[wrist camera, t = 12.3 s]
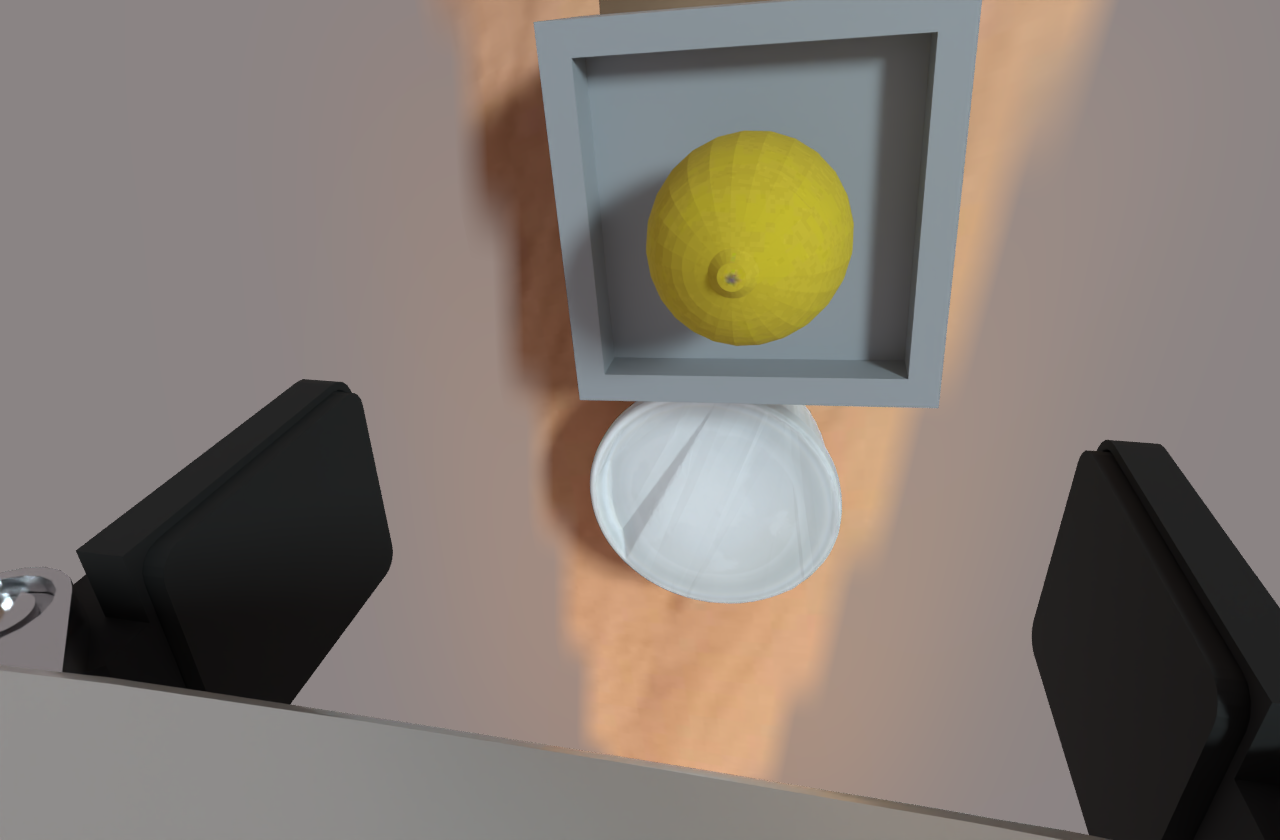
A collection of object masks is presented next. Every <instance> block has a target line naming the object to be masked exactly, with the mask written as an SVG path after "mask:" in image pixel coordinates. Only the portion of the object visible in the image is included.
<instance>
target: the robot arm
mask: <svg viewBox="0 0 1280 840" xmlns="http://www.w3.org/2000/svg"><path fill="white" fill-rule="evenodd" d="M76 552H77V554H78V557H79V559H80V561H81V563H82V566H83V568H84V570H85V572H86V575H85V576H84V577H82V578H81V579H80V580H79V581H78V582H76V583H75V584H74V585H73V583H72V581H71V578H70V577H69V576H68V575H66V574H65V573H64V572H62V571H61V570H57V569H53V568H48V567H32V568H31V567H30V568H21V569H16V570H11V571H5V572H1V573H0V840H1280V608H1279V606H1278V605H1277V604H1276V602H1275V601H1274V600H1273V598H1272V597H1271V595H1270V594H1269V593H1268V591H1267V590H1266V588H1265V587H1264V586H1263V584H1262V583H1261V581H1260V580H1259V579H1258V577H1257V576H1256V575H1255V573H1254V572H1253V571H1252V569H1251V568H1250V566H1249V565H1248V564H1247V562H1246V561H1245V559H1244V558H1243V557H1242V555H1241V554H1240V552H1239V551H1238V550H1237V548H1236V547H1235V545H1234V544H1233V543H1232V541H1231V540H1230V539H1229V537H1228V536H1227V534H1226V533H1225V532H1224V530H1223V529H1222V527H1221V526H1220V524H1219V523H1218V522H1217V520H1216V519H1215V518H1214V516H1213V515H1212V513H1211V512H1210V511H1209V509H1208V508H1207V506H1206V505H1205V504H1204V502H1203V501H1202V499H1201V498H1200V497H1199V495H1198V494H1197V492H1196V491H1195V490H1194V488H1193V487H1192V486H1191V484H1190V483H1189V481H1188V480H1187V479H1186V477H1185V476H1184V474H1183V473H1182V471H1181V470H1180V469H1179V467H1178V466H1177V464H1176V463H1175V462H1174V460H1173V459H1172V458H1171V456H1170V455H1169V453H1168V452H1167V451H1166V449H1165V448H1164V447H1163V446H1162V445H1161V444H1153V443H1140V442H1127V441H1113V440H1105V441H1104V442H1102V443H1101V445H1100V446H1099V447H1098V449H1097V451H1085V452H1083V453H1082V455H1081V456H1080V459H1079V461H1078V464H1077V468H1076V471H1075V475H1074V479H1073V482H1072V486H1071V490H1070V493H1069V497H1068V500H1067V504H1066V507H1065V511H1064V514H1063V518H1062V521H1061V525H1060V529H1059V532H1058V536H1057V539H1056V543H1055V546H1054V550H1053V554H1052V557H1051V561H1050V564H1049V568H1048V572H1047V575H1046V579H1045V582H1044V586H1043V590H1042V593H1041V596H1040V600H1039V604H1038V607H1037V611H1036V614H1035V618H1034V622H1033V627H1032V646H1033V652H1034V656H1035V659H1036V662H1037V666H1038V669H1039V672H1040V676H1041V679H1042V682H1043V685H1044V689H1045V692H1046V695H1047V698H1048V702H1049V705H1050V708H1051V711H1052V715H1053V718H1054V721H1055V725H1056V728H1057V731H1058V734H1059V738H1060V741H1061V744H1062V748H1063V751H1064V754H1065V758H1066V761H1067V764H1068V767H1069V771H1070V774H1071V777H1072V781H1073V784H1074V787H1075V790H1076V793H1077V797H1078V800H1079V804H1080V807H1081V810H1082V813H1083V817H1084V820H1085V823H1086V826H1087V830H1088V833H1089V835H1085V834H1080V833H1075V832H1070V831H1065V830H1059V829H1053V828H1047V827H1041V826H1035V825H1029V824H1023V823H1017V822H1010V821H1004V820H998V819H993V818H987V817H981V816H976V815H971V814H965V813H959V812H954V811H948V810H943V809H937V808H930V807H925V806H919V805H913V804H907V803H901V802H894V801H888V800H883V799H877V798H870V797H864V796H858V795H852V794H846V793H840V792H834V791H828V790H822V789H816V788H809V787H804V786H797V785H792V784H786V783H780V782H774V781H768V780H762V779H755V778H749V777H743V776H737V775H731V774H725V773H719V772H713V771H707V770H701V769H695V768H689V767H683V766H677V765H670V764H664V763H658V762H652V761H645V760H639V759H633V758H627V757H620V756H614V755H608V754H602V753H596V752H589V751H583V750H577V749H570V748H564V747H557V746H551V745H546V744H539V743H533V742H527V741H520V740H514V739H508V738H502V737H495V736H489V735H483V734H476V733H470V732H464V731H457V730H451V729H445V728H438V727H431V726H426V725H419V724H412V723H407V722H400V721H393V720H387V719H380V718H374V717H368V716H361V715H355V714H348V713H342V712H335V711H328V710H322V709H315V708H309V707H302V706H296V705H290V704H291V702H292V701H293V700H294V698H295V697H296V695H297V694H298V693H299V692H300V690H301V689H302V688H303V686H304V685H305V683H306V682H307V681H308V679H309V678H310V677H311V675H312V674H313V673H314V671H315V670H316V669H317V667H318V666H319V665H320V663H321V662H322V660H323V659H324V658H325V656H326V655H327V654H328V652H329V651H330V650H331V648H332V647H333V646H334V644H335V643H336V642H337V640H338V639H339V638H340V636H341V635H342V633H343V632H344V631H345V629H346V628H347V627H348V625H349V624H350V623H351V621H352V620H353V618H354V617H355V616H356V615H357V613H358V612H359V610H360V609H361V608H362V606H363V605H364V604H365V602H366V601H367V599H368V598H369V597H370V596H371V594H372V593H373V592H374V590H375V589H376V588H377V586H378V585H379V583H380V582H381V581H382V579H383V578H384V577H385V575H386V574H387V572H388V570H389V568H390V565H391V562H392V555H393V550H392V543H391V538H390V533H389V528H388V524H387V519H386V514H385V509H384V505H383V500H382V495H381V490H380V485H379V481H378V476H377V472H376V467H375V462H374V457H373V452H372V447H371V443H370V438H369V433H368V428H367V423H366V419H365V414H364V409H363V405H362V402H361V399H360V398H359V397H358V395H357V394H355V393H352V392H351V390H350V389H349V387H348V386H347V385H346V384H344V383H343V382H333V381H320V380H305V379H302V380H300V381H298V382H297V383H295V384H294V385H293V386H291V387H290V388H289V389H287V390H286V391H285V392H283V393H282V394H281V395H279V396H278V397H277V398H276V399H274V400H273V401H272V402H270V403H269V404H268V405H266V406H265V407H264V408H262V409H261V410H260V411H258V412H257V413H256V414H255V415H253V416H252V417H251V418H249V419H248V420H247V421H245V422H244V423H243V424H241V425H240V426H239V427H238V428H236V429H235V430H234V431H232V432H231V433H230V434H229V435H227V436H226V437H224V438H223V439H222V440H221V441H219V442H218V443H216V444H215V445H214V446H213V447H211V448H210V449H209V450H208V451H206V452H205V453H204V454H202V455H201V456H200V457H198V458H197V459H196V460H194V461H193V462H192V463H190V464H189V465H188V466H186V467H185V468H184V469H182V470H181V471H180V472H178V473H177V474H176V475H175V476H173V477H172V478H171V479H169V480H168V481H167V482H165V483H164V484H163V485H162V486H160V487H159V488H157V489H156V490H155V491H154V492H152V493H151V494H150V495H148V496H147V497H146V498H145V499H143V500H142V501H140V502H139V503H138V504H136V505H135V506H134V507H133V508H131V509H130V510H129V511H127V512H126V513H125V514H123V515H122V516H121V517H119V518H118V519H117V520H115V521H114V522H113V523H112V524H110V525H109V526H108V527H107V528H105V529H104V530H102V531H101V532H100V533H98V534H97V535H96V536H95V537H93V538H92V539H91V540H89V541H88V542H87V543H85V544H84V545H83V546H81V547H80V548H79V549H77V550H76Z"/></svg>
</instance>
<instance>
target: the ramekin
mask: <svg viewBox="0 0 1280 840" xmlns="http://www.w3.org/2000/svg"><path fill="white" fill-rule="evenodd" d="M590 494H591V500H592V506H593V510H594V513H595V517H596V519H597V522H598V524H599V526H600V529H601V531H602V533H603V535H604V536H605V538H606V539H607V541H608V543H609V544H610V545H611V547H612V548H613V549H614V550H615V552H616V553H617V554H618V555H619V556H620V557H621V558H622V559H623V560H624V561H625V562H626V563H627V564H628V565H629V566H630V567H631V568H632V569H634V570H635V571H636V572H637V573H639V574H640V575H641V576H643V577H644V578H646V579H647V580H648V581H651V582H652V583H654V584H656V585H657V586H659V587H661V588H663V589H666V590H668V591H670V592H673V593H675V594H678V595H681V596H684V597H688V598H691V599H695V600H701V601H706V602H715V603H745V602H754V601H758V600H762V599H766V598H770V597H773V596H776V595H779V594H781V593H784V592H786V591H788V590H791V589H793V588H794V587H796V586H797V585H798V584H800V583H801V582H803V581H804V580H806V579H807V578H808V577H809V576H811V575H812V574H813V573H814V572H815V571H816V570H817V569H818V567H819V566H820V565H821V564H822V563H823V562H824V561H825V559H826V558H827V556H828V555H829V553H830V552H831V550H832V548H833V546H834V543H835V541H836V538H837V536H838V532H839V528H840V522H841V514H842V499H841V488H840V483H839V478H838V475H837V471H836V468H835V465H834V463H833V461H832V459H831V457H830V455H829V453H828V451H827V449H826V448H825V445H824V441H823V438H822V435H821V432H820V431H819V429H818V426H817V423H816V421H815V420H814V418H813V417H812V415H811V413H810V411H809V410H808V409H807V408H806V406H805V405H781V404H737V403H693V402H649V401H637V402H635V403H634V404H632V405H631V406H630V407H628V408H627V409H626V410H625V411H624V412H623V413H622V414H621V415H619V417H618V418H617V419H616V420H615V421H614V422H613V423H612V425H611V426H610V427H609V429H608V430H607V432H606V434H605V435H604V437H603V439H602V440H601V442H600V444H599V446H598V449H597V451H596V454H595V457H594V460H593V464H592V468H591V474H590Z"/></svg>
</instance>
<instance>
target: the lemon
mask: <svg viewBox="0 0 1280 840" xmlns="http://www.w3.org/2000/svg"><path fill="white" fill-rule="evenodd" d="M853 232H854V222H853V217H852V213H851V208H850V203H849V199H848V195H847V193H846V191H845V189H844V187H843V185H842V183H841V181H840V179H839V177H838V175H837V173H836V172H835V171H834V170H833V168H832V167H831V166H830V165H829V164H828V163H827V162H826V161H825V160H824V159H823V158H822V157H821V156H820V154H819V153H818V152H816V151H815V150H813V149H812V148H810V147H808V146H807V145H805V144H803V143H802V142H800V141H799V140H797V139H795V138H792V137H789V136H786V135H782V134H779V133H776V132H772V131H739V132H735V133H731V134H727V135H723V136H719V137H717V138H715V139H713V140H711V141H709V142H707V143H705V144H704V145H702V146H700V147H698V148H696V149H694V150H693V151H692V152H690V153H689V154H688V155H687V156H686V157H685V158H684V159H683V160H682V161H681V162H680V163H679V164H678V165H677V166H676V167H675V168H674V169H673V170H672V171H671V172H670V174H669V176H668V177H667V179H666V180H665V182H664V184H663V185H662V187H661V188H660V190H659V192H658V193H657V195H656V198H655V201H654V204H653V207H652V210H651V213H650V216H649V220H648V224H647V240H646V254H647V260H648V265H649V270H650V275H651V278H652V281H653V283H654V285H655V287H656V289H657V292H658V294H659V296H660V298H661V300H662V302H663V303H664V304H665V305H666V307H667V308H668V309H669V310H670V312H671V313H672V314H673V316H674V317H675V318H676V319H677V320H679V321H680V322H681V323H683V324H684V325H685V326H686V327H688V328H689V329H690V330H692V331H693V332H695V333H697V334H699V335H701V336H703V337H706V338H708V339H710V340H712V341H714V342H719V343H724V344H729V345H734V346H747V345H761V344H765V343H768V342H772V341H775V340H779V339H782V338H785V337H787V336H788V335H790V334H792V333H794V332H795V331H797V330H799V329H801V328H803V327H804V326H806V325H807V324H809V323H810V322H811V321H812V320H813V319H814V318H815V317H816V316H817V315H818V314H819V313H820V312H821V311H822V310H823V309H824V308H825V307H826V306H827V305H828V304H829V303H830V301H831V299H832V298H833V296H834V294H835V293H836V291H837V290H838V288H839V286H840V285H841V283H842V282H843V280H844V277H845V274H846V271H847V268H848V265H849V262H850V258H851V255H852V251H853Z"/></svg>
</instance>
